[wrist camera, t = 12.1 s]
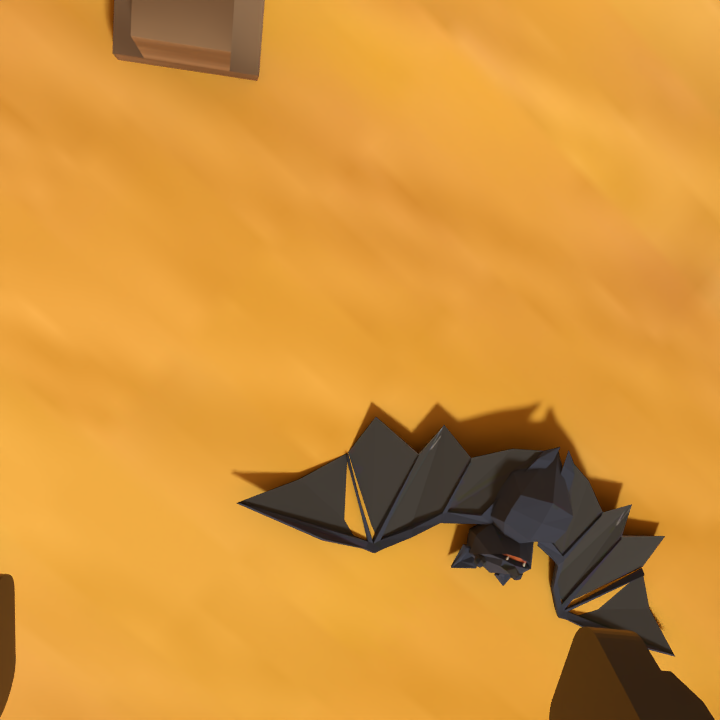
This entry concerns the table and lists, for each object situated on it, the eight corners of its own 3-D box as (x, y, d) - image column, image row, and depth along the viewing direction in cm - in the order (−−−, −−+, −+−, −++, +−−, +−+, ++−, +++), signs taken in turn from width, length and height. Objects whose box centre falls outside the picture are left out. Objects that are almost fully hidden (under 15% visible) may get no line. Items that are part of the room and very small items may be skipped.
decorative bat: (786, 554, 39) (689, 687, 41) (738, 516, 43) (651, 639, 45) (321, 353, 31) (231, 533, 33) (313, 328, 34) (232, 491, 37)
